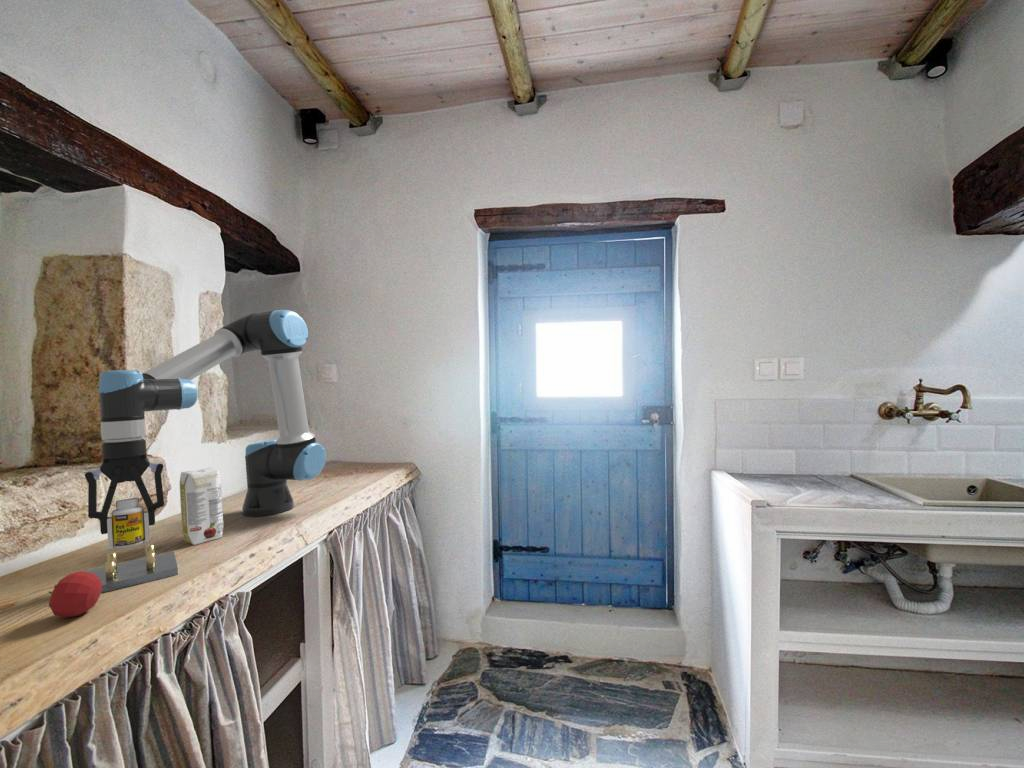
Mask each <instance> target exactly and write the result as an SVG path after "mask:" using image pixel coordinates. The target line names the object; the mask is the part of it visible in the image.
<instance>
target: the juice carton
mask: <svg viewBox="0 0 1024 768" xmlns="http://www.w3.org/2000/svg"><path fill="white" fill-rule="evenodd" d="M179 496H180V497H179V498H180V499H179V500H180V501H179V502H180V516H181V517H180V519H181V531H182V536H183V539H184V541H185V543H188V544H191V545H193V546H195V545H199V544H204V543H207V542H210V541H214V540H217V539H221V538H223V531H224V513H223V512H224V511H223V510H224V509H223V496H222V478H221V475H220V470H219V469H218V468H215V467H207V468H206V467H205V468H201V469H197V470H189V471H181V472H180V476H179Z"/></svg>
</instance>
